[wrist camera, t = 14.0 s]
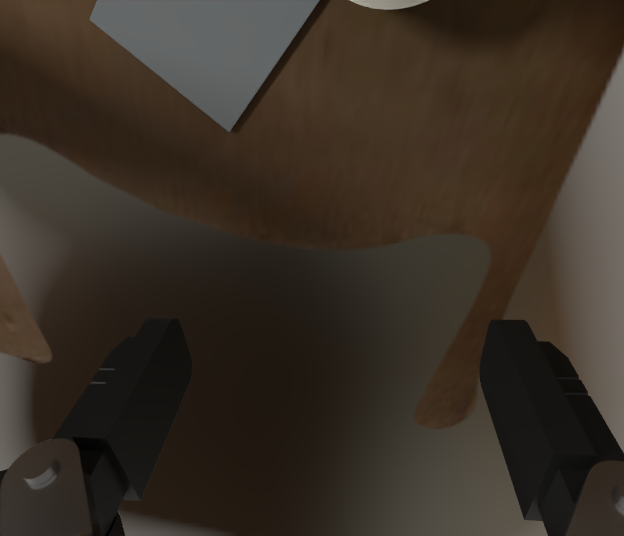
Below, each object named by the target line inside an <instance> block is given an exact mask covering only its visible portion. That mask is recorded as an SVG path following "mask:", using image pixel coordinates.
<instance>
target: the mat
mask: <svg viewBox="0 0 624 536" xmlns="http://www.w3.org/2000/svg"><path fill="white" fill-rule="evenodd" d="M319 1H320V0H97V2H96V4H95V7H94V9H93V12H92V14H91V17H90V19H89V20H90V21H92V22H93V23H94V24H95V25H97V26H98V27H99V28H100V29H102V30H103V31H104V32H105V33H107V34H108V35H109V36H110V37H111V38H113V39H114V40H115V41H116V42H118V43H119V44H120V45H121V46H123V47H124V48H125V49H126V50H128V51H129V52H130V53H131V54H133V55H134V56H135V57H136V58H138V59H139V60H140V61H141V62H142V63H144V64H145V65H146V66H147V67H149V68H150V69H151V70H152V71H154V72H155V73H156V74H157V75H159V76H160V77H161V78H162V79H164V80H165V81H166V82H167V83H169V84H170V85H171V86H172V87H174V88H175V89H176V90H177V91H178V92H180V93H181V94H182V95H183V96H185V97H186V98H187V99H188V100H190V101H191V102H192V103H193V104H195V105H196V106H197V107H198V108H200V109H201V110H202V111H203V112H205V113H206V114H207V115H208V116H210V117H211V118H212V119H213V120H214V121H216V122H217V123H218V124H219V125H221V126H222V127H223V128H224V129H226V130H227V131H228V132H230V131H231V129H232V128H233V127H234V125H235V124H236V122H237V121H238V119H239V118H240V116H241V115H242V113H243V112H244V111H245V109H246V108H247V106H248V105H249V103H250V102H251V100H252V99H253V97H254V96H255V94H256V93H257V92H258V90H259V89H260V87H261V86H262V84H263V83H264V81H265V80H266V78H267V77H268V75H269V74H270V73H271V71H272V70H273V68H274V67H275V65H276V64H277V62H278V61H279V59H280V58H281V56H282V55H283V54H284V52H285V51H286V49H287V48H288V46H289V45H290V43H291V42H292V40H293V39H294V37H295V36H296V35H297V33H298V32H299V30H300V29H301V27H302V26H303V24H304V23H305V21H306V20H307V18H308V17H309V16H310V14H311V13H312V11H313V10H314V8H315V7H316V5H317V4H318V2H319Z"/></svg>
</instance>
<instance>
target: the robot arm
mask: <svg viewBox="0 0 624 536" xmlns="http://www.w3.org/2000/svg"><path fill="white" fill-rule="evenodd" d="M192 369H193V367H192V358H191V355H190V351H189V348H188V345H187V342H186V338H185V335H184V332H183V329H182V325H181V323H180V321H179V320H178V319H177V318H148V319H147V320H145V322H144V323H143V325H142V326H141V328H140V329H139V331H138V333H137V334H136V336H135V337H128V338H126V339H125V340H124V341H123V342H121V343H120V344H119V345H118V346H117V347H115V348H114V349H113V350H112V351H111V352H110V353H109V355H108V356H107V358H106V359H105V361H104V362H103V364H102V365H101V367H100V371H97V373H96V374H95V376H94V377H93V379H92V380H91V384H90V385H88V386H87V388H86V389H85V391H84V392H83V394H82V395H81V397H80V398H79V399H78V401H77V403H76V404H75V405H74V407H73V408H72V410H71V411H70V413H69V414H68V416H67V417H66V419H65V420H64V422H63V423H62V425H61V426H60V428H59V429H58V431H57V432H56V434H55V435H54V437H53V438H52V439H51V440H47V441H45V442H42V443H39V444H37V445H35V446H33V447H32V448H30V449H29V450H27V451H26V452H25V453H23V454H22V455H21V456H20V457H19V458H17V459H16V461H14V463H13V464H12V465H11V466H10V467H9V469H7V470H3V471H0V536H125V532H124V528H123V524H122V519H121V516H120V514H119V513H118V509H119V506H120V504H121V502H122V500H139V501H140V500H141V498H142V496H143V493H144V491H145V489H146V486H147V484H148V482H149V479H150V477H151V474H152V472H153V469H154V467H155V465H156V462H157V460H158V458H159V455H160V453H161V450H162V448H163V445H164V443H165V441H166V438H167V436H168V434H169V431H170V429H171V426H172V424H173V422H174V419H175V417H176V414H177V412H178V410H179V407H180V405H181V402H182V400H183V398H184V395H185V393H186V390H187V388H188V386H189V383H190V380H191V376H192ZM578 377H579V376H578V374H577V373H576V371H575V369H574V367H573V366H572V364H571V362H570V361H569V359H568V357H566V356H565V355H564V354H563V353H562V352H561V351H560V350H558V349H557V348H556V347H555V346H554V345H553V344H551V343H550V342H542V341H541V342H540V341H537V340H536V338H535V336H534V334H533V332H532V330H531V328H530V326H529V325H528V323H527V322H526V321H525V320H491V321H490V323H489V326H488V330H487V335H486V339H485V343H484V348H483V352H482V357H481V361H480V382H481V387H482V390H483V393H484V396H485V400H486V402H487V406H488V409H489V412H490V415H491V418H492V421H493V424H494V427H495V431H496V434H497V437H498V440H499V443H500V446H501V449H502V452H503V455H504V459H505V462H506V465H507V468H508V471H509V474H510V477H511V480H512V483H513V486H514V489H515V492H516V496H517V499H518V502H519V505H520V508H521V511H522V514H523V517H524V520H536V521H543V523H544V526H545V528H546V531H547V534H548V536H624V453H623V451H622V450H621V448H620V446H619V445H618V443H617V441H616V439H615V438H614V436H613V435H612V433H611V431H610V429H609V428H608V426H607V424H606V422H605V421H604V419H603V417H602V415H601V414H600V412H599V410H598V409H597V407H596V405H595V404H594V402H593V400H592V399H591V397H590V396H588V391H587V390H586V388H585V386H584V385H583V383H582V381H581V380H579V378H578Z"/></svg>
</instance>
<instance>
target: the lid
mask: <svg viewBox="0 0 624 536" xmlns="http://www.w3.org/2000/svg"><path fill="white" fill-rule="evenodd" d="M350 1H352V2H355V3H357V4H359V5H362V6H366V7H370V8H374V9H385V10H390V9H402V8H407V7H412V6H415V5H418V4H421V3H423V2H426V1H428V0H350Z"/></svg>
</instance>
